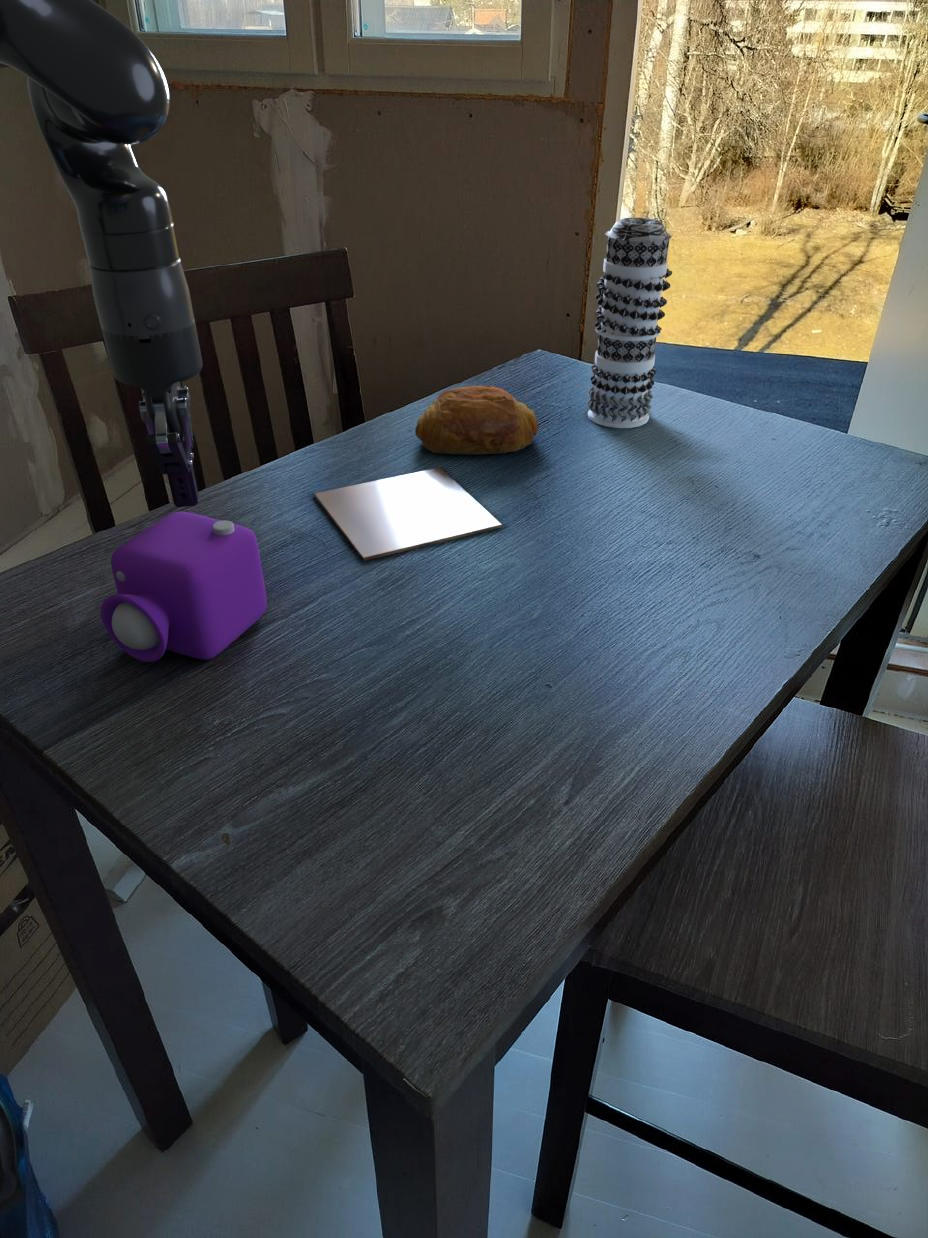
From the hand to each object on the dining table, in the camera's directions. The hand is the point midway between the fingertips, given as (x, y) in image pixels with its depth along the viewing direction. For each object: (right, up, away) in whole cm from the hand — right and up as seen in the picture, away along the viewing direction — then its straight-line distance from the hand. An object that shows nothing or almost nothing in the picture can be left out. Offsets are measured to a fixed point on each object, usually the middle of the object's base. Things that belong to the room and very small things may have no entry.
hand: (187, 502), depth 81 cm
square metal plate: (+20, +1, +14) cm, 24 cm away
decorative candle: (+48, +17, +37) cm, 63 cm away
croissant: (+28, +12, +31) cm, 43 cm away
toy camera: (+2, -13, -5) cm, 14 cm away
